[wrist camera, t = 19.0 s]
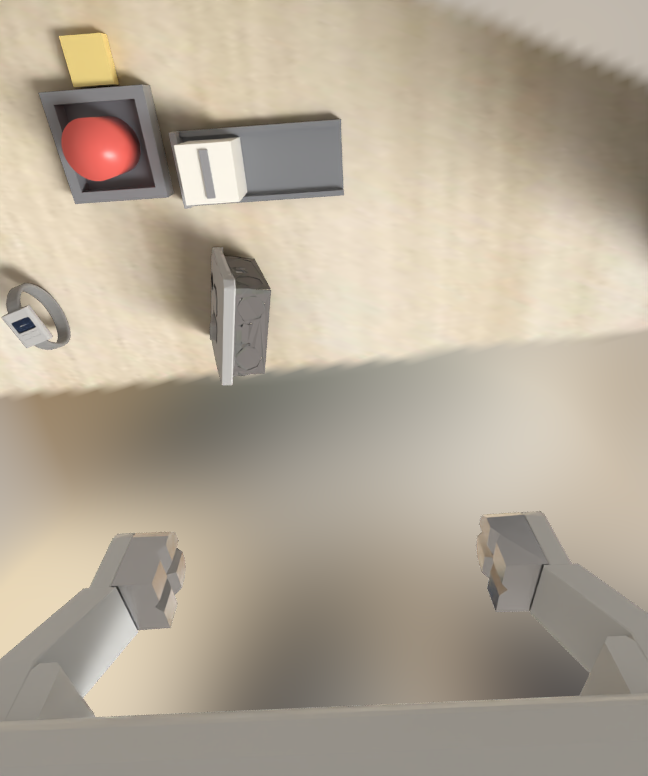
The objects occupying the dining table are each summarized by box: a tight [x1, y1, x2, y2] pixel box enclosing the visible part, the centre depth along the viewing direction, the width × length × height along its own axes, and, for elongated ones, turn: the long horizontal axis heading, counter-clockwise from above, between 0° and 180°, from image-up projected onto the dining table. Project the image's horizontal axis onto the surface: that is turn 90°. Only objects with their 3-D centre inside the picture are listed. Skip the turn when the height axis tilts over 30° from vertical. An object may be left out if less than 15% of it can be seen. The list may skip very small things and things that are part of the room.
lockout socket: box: [39, 33, 174, 204], centre depth 35 cm, size 8×11×2 cm
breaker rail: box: [169, 119, 344, 208], centre depth 36 cm, size 13×5×2 cm, turn 94°
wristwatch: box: [1, 283, 71, 350], centre depth 42 cm, size 6×3×5 cm, turn 21°
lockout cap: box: [61, 116, 141, 181], centre depth 34 cm, size 4×4×4 cm
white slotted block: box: [174, 137, 247, 206], centre depth 35 cm, size 4×4×5 cm
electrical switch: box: [210, 247, 271, 385], centre depth 40 cm, size 9×5×9 cm, turn 172°
